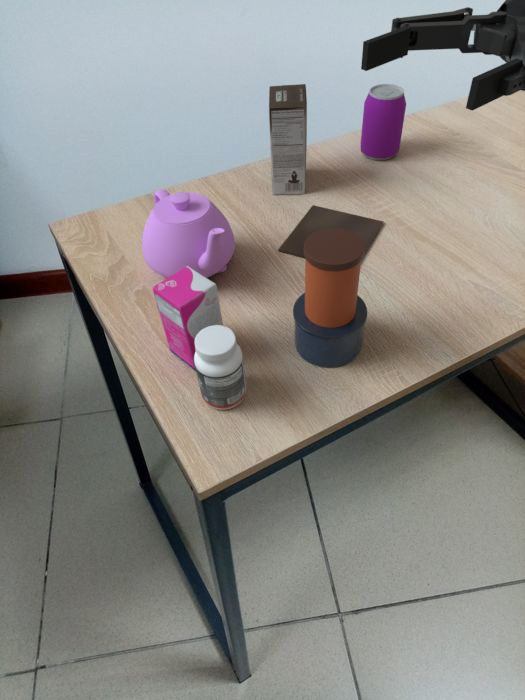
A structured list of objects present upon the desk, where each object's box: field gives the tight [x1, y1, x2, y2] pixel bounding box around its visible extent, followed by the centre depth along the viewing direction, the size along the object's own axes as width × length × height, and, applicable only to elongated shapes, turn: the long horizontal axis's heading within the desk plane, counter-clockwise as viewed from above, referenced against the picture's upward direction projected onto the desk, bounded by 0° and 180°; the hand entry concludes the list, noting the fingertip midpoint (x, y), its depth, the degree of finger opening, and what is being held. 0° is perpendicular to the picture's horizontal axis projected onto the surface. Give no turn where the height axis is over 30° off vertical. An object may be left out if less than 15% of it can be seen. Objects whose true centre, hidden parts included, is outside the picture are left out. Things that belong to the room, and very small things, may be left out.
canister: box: [304, 228, 365, 328], centre depth 64 cm, size 7×7×10 cm
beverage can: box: [360, 83, 407, 161], centre depth 102 cm, size 8×8×12 cm
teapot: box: [141, 189, 236, 279], centre depth 79 cm, size 20×14×12 cm
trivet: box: [277, 204, 384, 259], centre depth 88 cm, size 13×14×1 cm
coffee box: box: [268, 83, 308, 196], centre depth 94 cm, size 9×6×16 cm
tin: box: [292, 292, 368, 369], centre depth 69 cm, size 9×9×6 cm
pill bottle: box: [194, 325, 247, 411], centre depth 63 cm, size 6×6×10 cm
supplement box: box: [152, 266, 224, 372], centre depth 68 cm, size 6×6×12 cm
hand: (414, 74), depth 52 cm, fingers open, 13 cm apart
